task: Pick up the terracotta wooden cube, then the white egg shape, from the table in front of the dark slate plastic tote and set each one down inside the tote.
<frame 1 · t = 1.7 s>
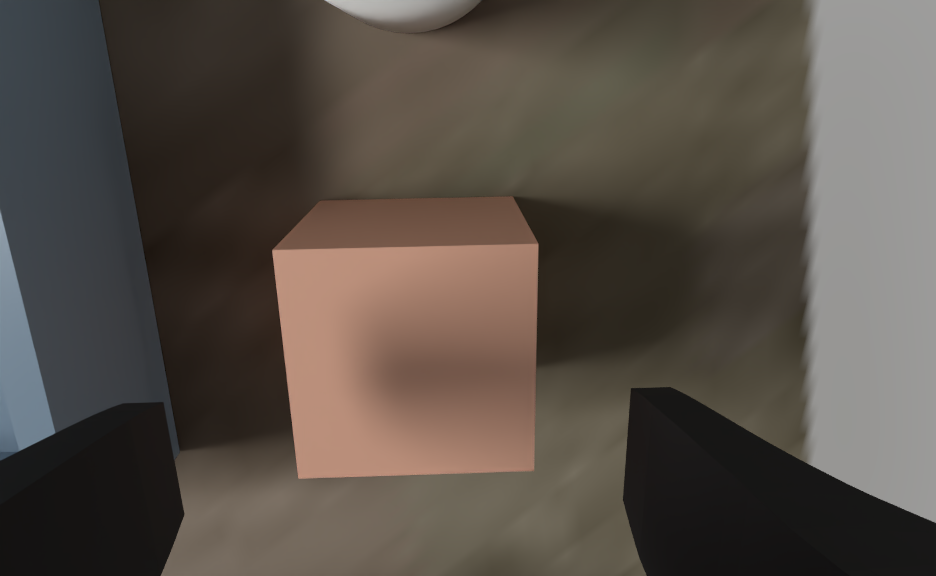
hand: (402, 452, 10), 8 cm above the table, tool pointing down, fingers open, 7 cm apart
cube: (420, 288, 18), on the table
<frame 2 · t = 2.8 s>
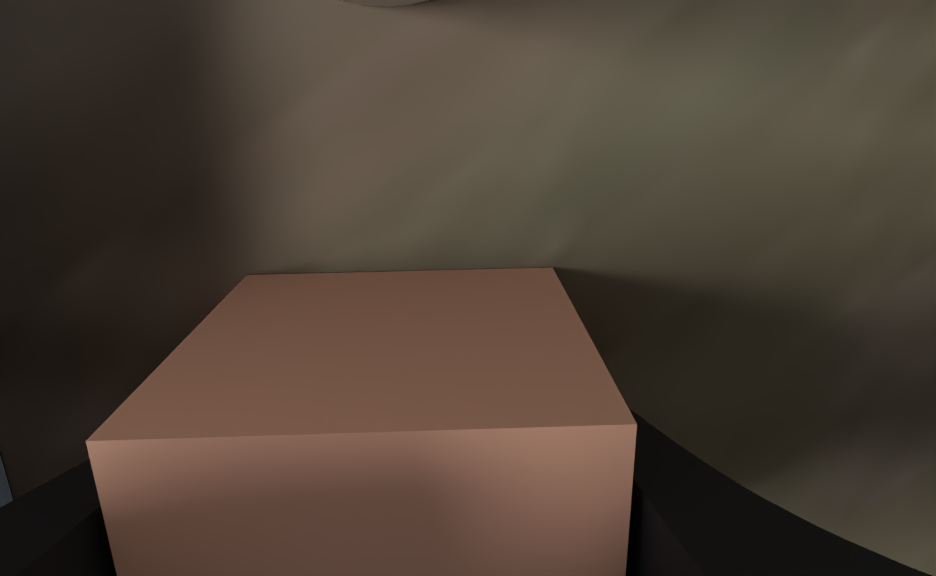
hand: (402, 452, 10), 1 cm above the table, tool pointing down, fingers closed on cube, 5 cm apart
cube: (407, 406, 11), on the table, touching gripper
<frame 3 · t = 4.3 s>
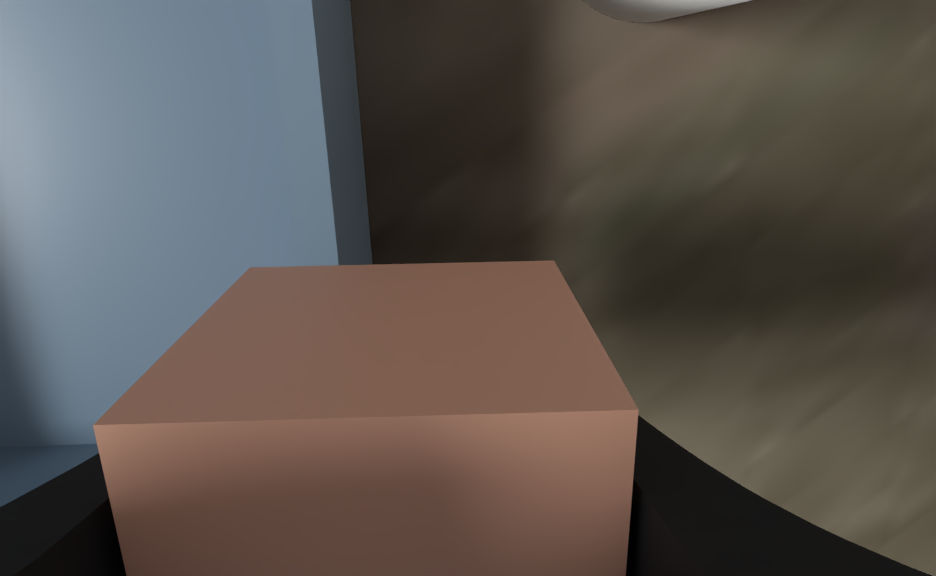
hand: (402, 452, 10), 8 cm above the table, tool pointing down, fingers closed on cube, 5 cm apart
tote: (94, 147, 17), on the table
cube: (409, 399, 12), point 7 cm above the table, touching gripper
when the fingers open (4 cm above the table, at t = 6.1 s): cube drops 1 cm, resting on tote.
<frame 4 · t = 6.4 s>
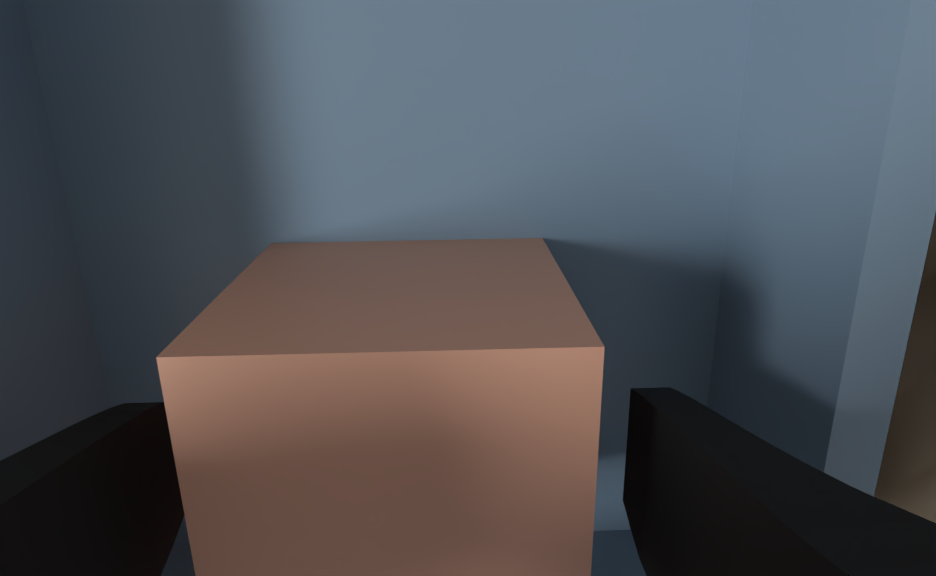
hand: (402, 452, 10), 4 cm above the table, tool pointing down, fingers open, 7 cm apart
tote: (405, 158, 13), on the table
cube: (412, 363, 13), point 1 cm above the table, touching tote
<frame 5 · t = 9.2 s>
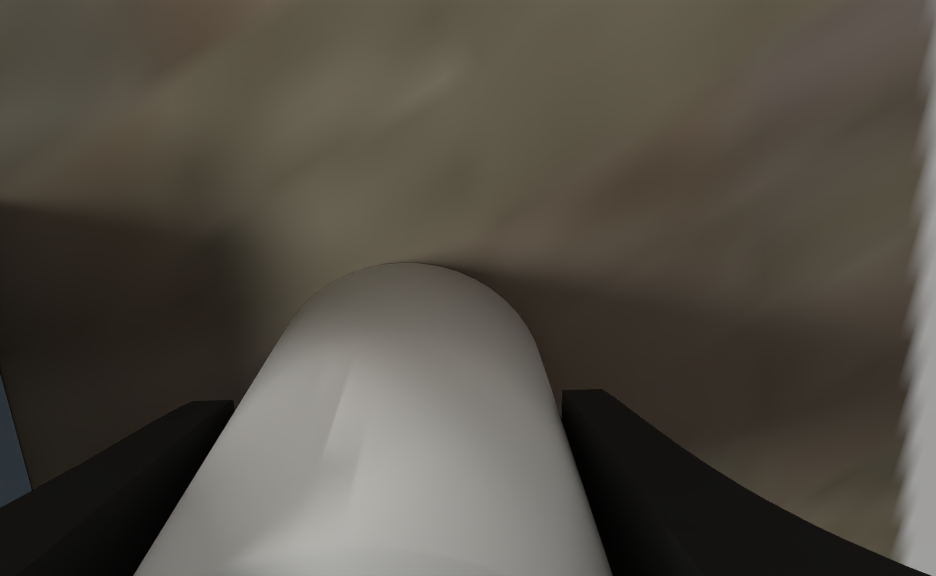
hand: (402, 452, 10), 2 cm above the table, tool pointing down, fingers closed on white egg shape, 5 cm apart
white egg shape: (409, 393, 12), on the table, touching gripper
when the fingers open (4 cm above the table, at t = 12.7 s): white egg shape drops 1 cm, resting on tote.
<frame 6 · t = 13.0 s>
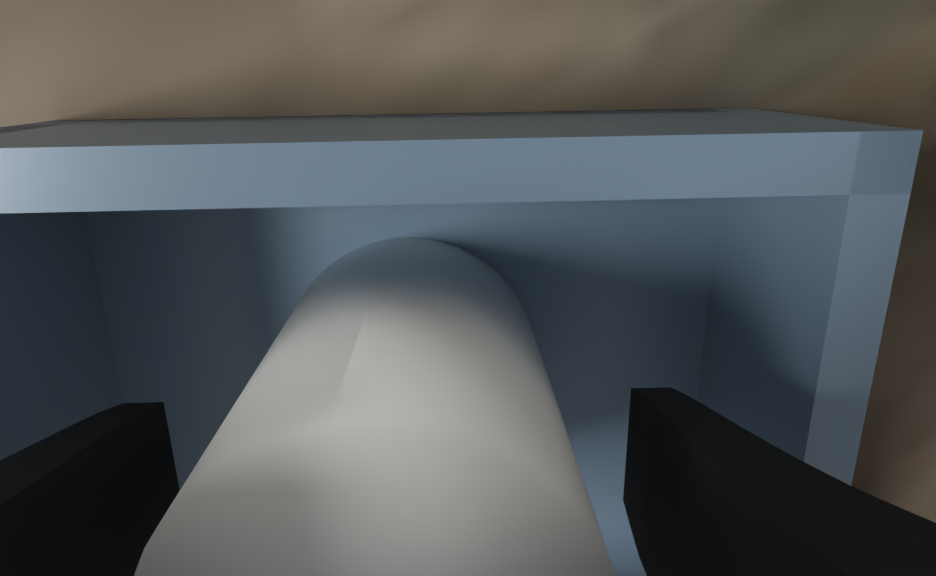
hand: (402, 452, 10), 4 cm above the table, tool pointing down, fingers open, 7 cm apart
tote: (422, 494, 16), on the table
white egg shape: (412, 356, 13), point 1 cm above the table, touching tote
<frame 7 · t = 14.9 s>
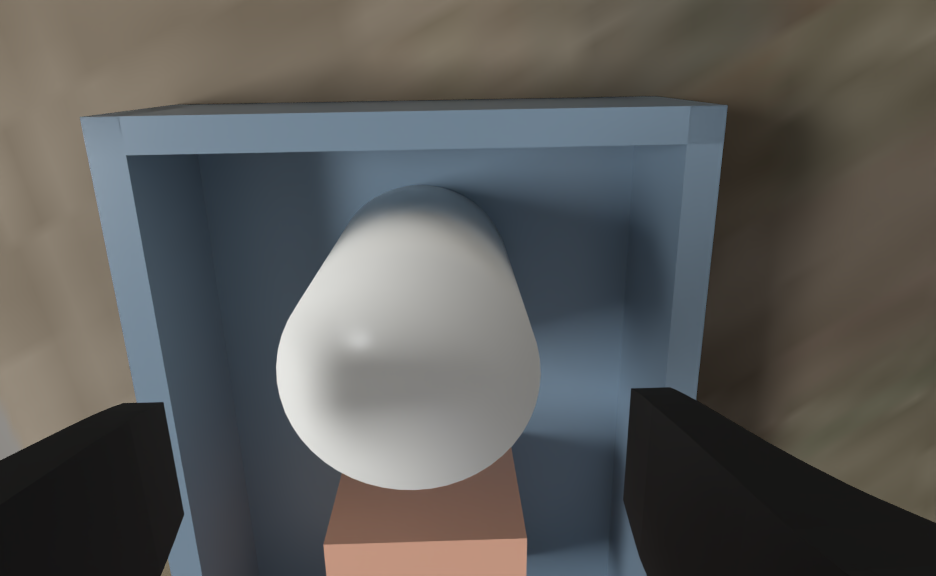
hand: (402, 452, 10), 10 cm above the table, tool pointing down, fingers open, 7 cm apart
tote: (428, 380, 21), on the table
cube: (432, 499, 22), point 1 cm above the table, touching tote
white egg shape: (422, 270, 19), point 1 cm above the table, touching tote
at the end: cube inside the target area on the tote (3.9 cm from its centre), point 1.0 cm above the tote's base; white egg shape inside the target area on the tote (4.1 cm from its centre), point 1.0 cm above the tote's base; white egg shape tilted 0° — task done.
